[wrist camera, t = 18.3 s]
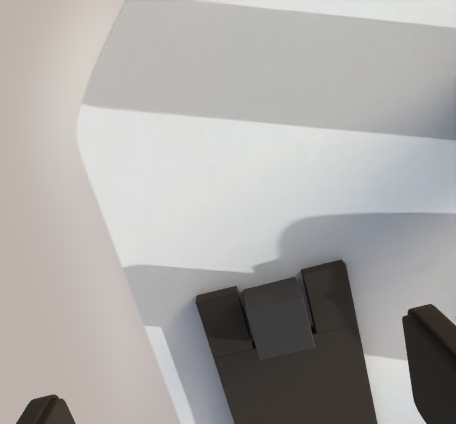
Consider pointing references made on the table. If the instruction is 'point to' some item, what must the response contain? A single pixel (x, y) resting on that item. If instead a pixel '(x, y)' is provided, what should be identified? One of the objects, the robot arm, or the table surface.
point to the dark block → (278, 318)
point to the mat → (293, 359)
